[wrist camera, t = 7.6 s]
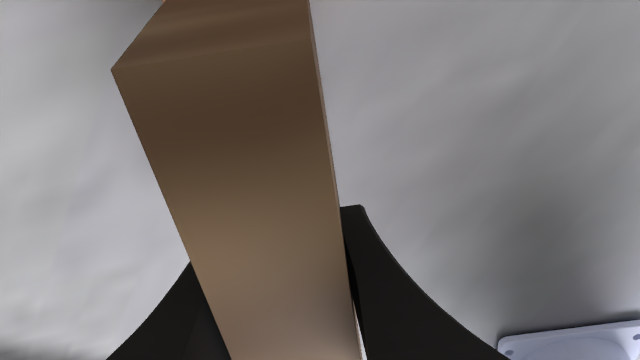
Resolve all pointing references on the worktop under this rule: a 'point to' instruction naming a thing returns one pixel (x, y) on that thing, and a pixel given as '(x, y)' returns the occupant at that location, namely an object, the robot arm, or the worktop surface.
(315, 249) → the long wooden beam
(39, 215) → the worktop surface
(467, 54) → the worktop surface
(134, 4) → the worktop surface
